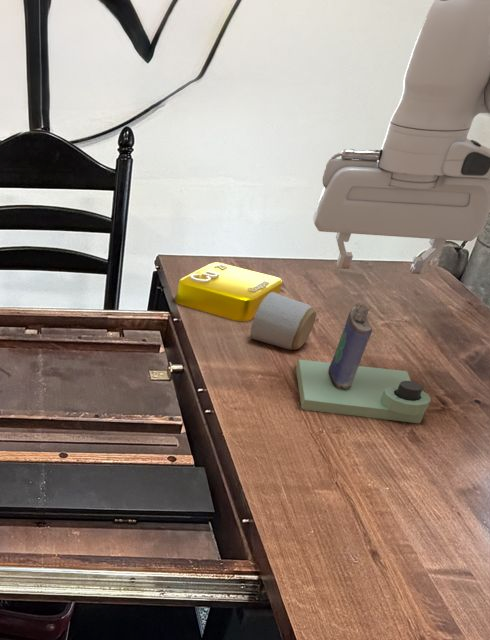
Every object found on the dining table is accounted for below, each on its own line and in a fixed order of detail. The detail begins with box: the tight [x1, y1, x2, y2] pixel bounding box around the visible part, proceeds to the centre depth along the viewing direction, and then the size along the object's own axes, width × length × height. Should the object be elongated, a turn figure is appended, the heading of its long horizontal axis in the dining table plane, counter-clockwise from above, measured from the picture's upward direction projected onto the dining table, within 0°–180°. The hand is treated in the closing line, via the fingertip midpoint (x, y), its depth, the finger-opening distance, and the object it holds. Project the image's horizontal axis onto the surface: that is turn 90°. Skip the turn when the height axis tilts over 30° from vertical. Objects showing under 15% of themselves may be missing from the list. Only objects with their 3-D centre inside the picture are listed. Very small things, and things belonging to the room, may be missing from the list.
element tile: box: [175, 261, 283, 322], centre depth 132 cm, size 15×15×5 cm
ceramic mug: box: [250, 292, 317, 351], centre depth 118 cm, size 11×8×8 cm
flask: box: [328, 302, 373, 390], centre depth 103 cm, size 9×3×11 cm, turn 164°
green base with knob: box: [295, 359, 432, 424], centre depth 105 cm, size 16×15×4 cm
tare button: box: [395, 380, 424, 401], centre depth 99 cm, size 3×3×2 cm
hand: (378, 270), depth 97 cm, fingers open, 8 cm apart
